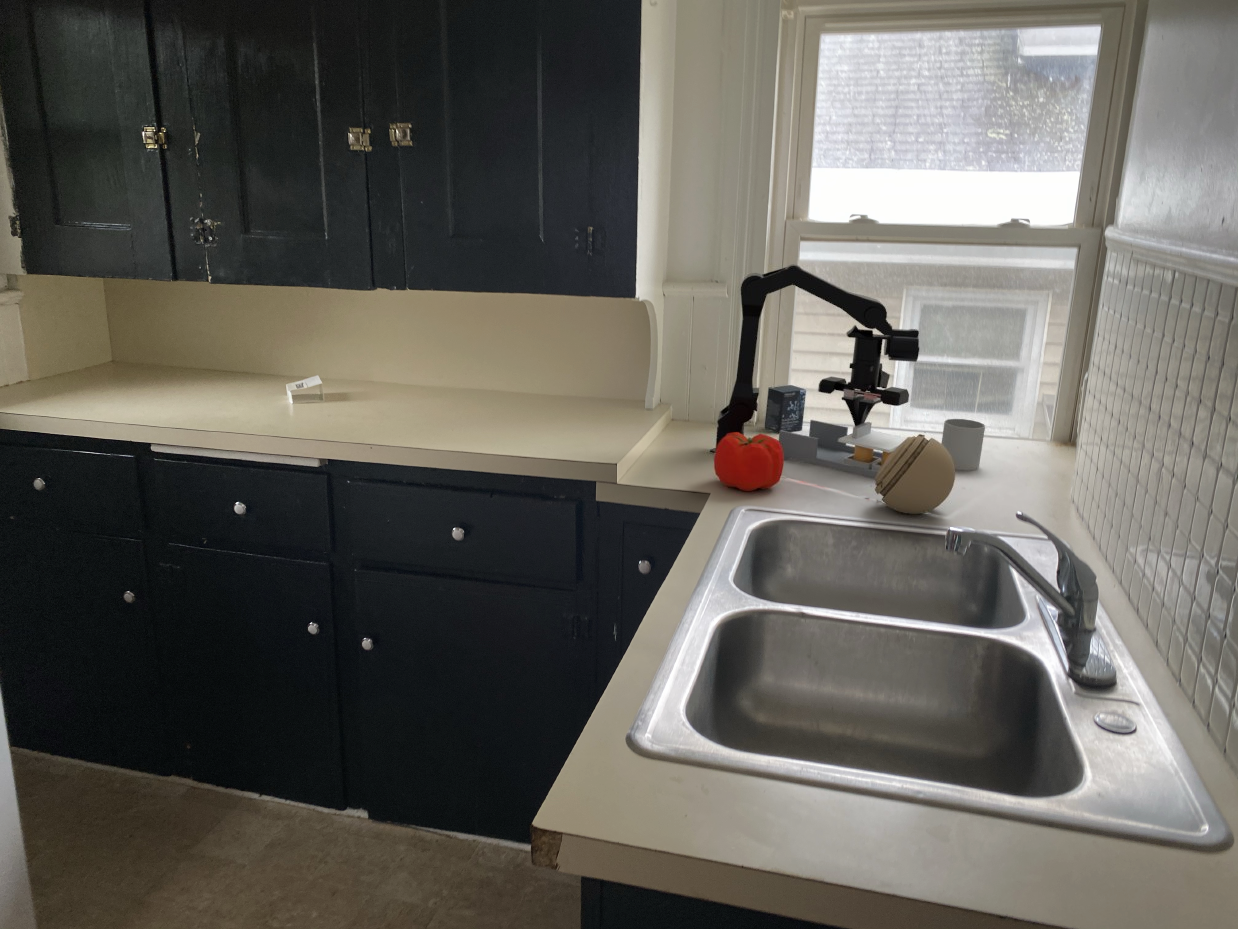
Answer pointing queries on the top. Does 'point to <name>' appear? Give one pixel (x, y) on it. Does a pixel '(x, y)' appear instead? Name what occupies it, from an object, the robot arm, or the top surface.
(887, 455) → the orange cylinder
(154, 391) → the top surface
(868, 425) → the lid
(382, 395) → the top surface
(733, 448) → the tomato
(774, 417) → the box
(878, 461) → the housing
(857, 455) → the orange rounded cylinder
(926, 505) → the mechanical component
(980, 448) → the cup
